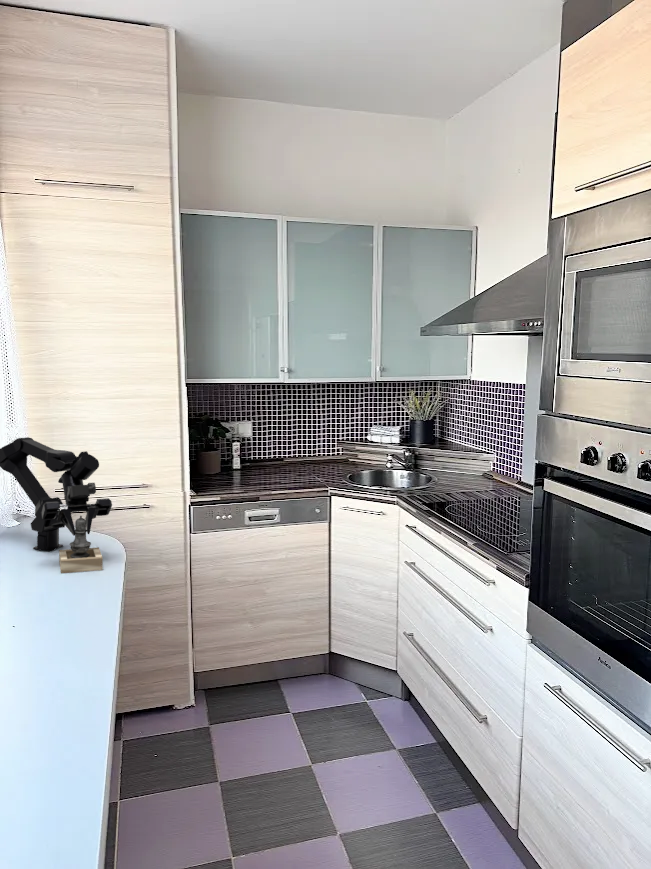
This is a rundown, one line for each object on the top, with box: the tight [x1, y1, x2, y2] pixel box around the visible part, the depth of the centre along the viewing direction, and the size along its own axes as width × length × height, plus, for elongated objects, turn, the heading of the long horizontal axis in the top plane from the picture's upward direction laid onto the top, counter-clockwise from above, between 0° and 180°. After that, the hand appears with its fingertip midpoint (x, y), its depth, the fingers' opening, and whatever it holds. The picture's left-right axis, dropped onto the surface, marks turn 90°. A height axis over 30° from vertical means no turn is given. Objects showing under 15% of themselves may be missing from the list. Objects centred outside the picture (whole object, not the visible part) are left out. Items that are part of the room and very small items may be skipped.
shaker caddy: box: [58, 547, 104, 574], centre depth 190 cm, size 11×11×4 cm
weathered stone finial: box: [69, 515, 92, 558], centre depth 190 cm, size 6×6×12 cm
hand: (81, 534), depth 188 cm, fingers closed on weathered stone finial, 4 cm apart
